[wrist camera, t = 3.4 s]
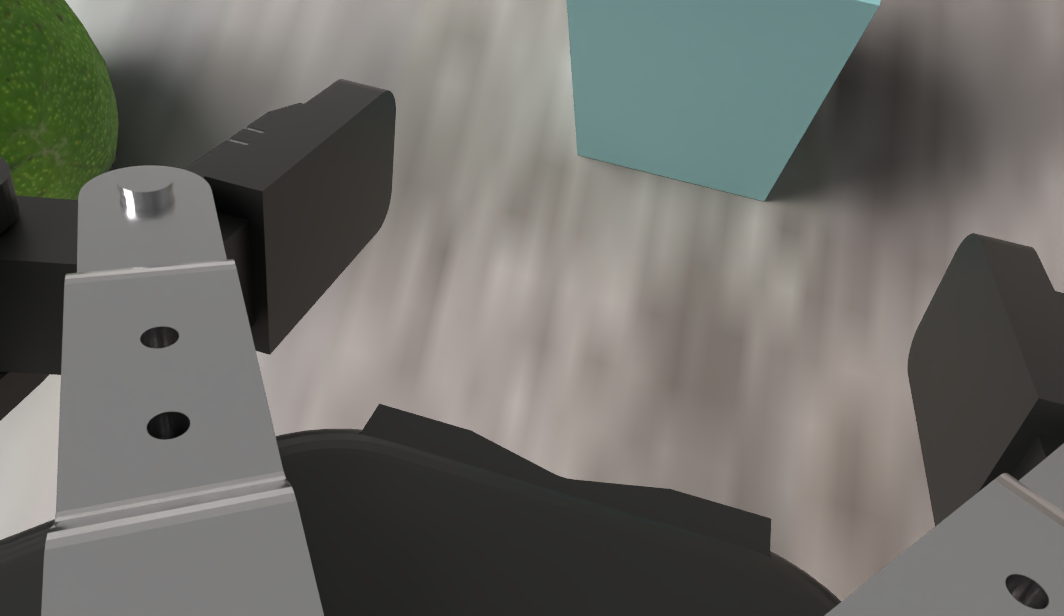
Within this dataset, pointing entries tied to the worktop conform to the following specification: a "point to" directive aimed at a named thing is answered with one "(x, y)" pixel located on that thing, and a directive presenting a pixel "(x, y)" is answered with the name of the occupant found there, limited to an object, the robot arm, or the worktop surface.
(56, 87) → the avocado
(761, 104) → the teal open-top bin
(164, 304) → the robot arm
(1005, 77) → the worktop surface
